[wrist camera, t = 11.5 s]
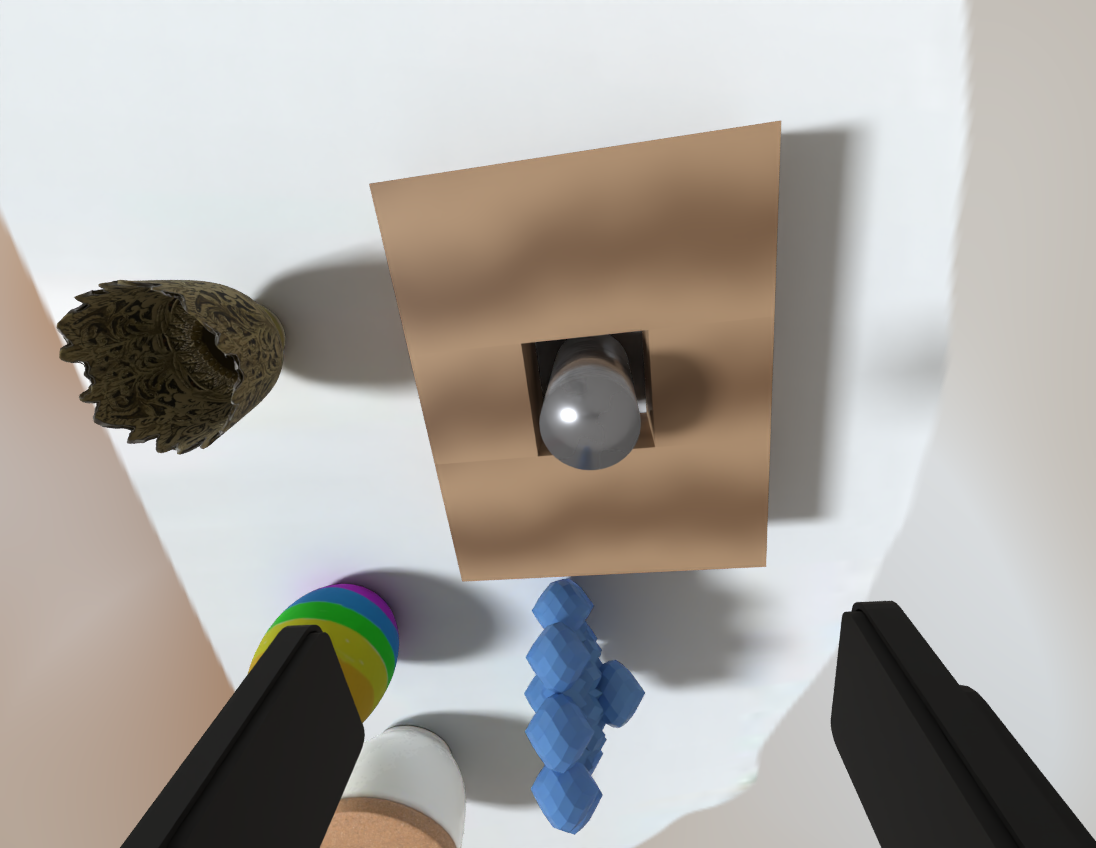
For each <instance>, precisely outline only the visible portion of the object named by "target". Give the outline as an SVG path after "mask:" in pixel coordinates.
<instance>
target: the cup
mask: <svg viewBox="0 0 1096 848" xmlns="http://www.w3.org/2000/svg"><path fill="white" fill-rule="evenodd" d="M98 286H99V287H101V288H103V289H102V290H96V291H93V290H92V291H89V292H87V293H84V294H81V295H78V296H76V297H74V298H75V299H76V300H77V301H79V302H82V303H83V304H82V305H81V306H79V307H77V308H75V309H72V310H70V311H69V312H68V313H67V314H66V315H65V316H64V317H63V318H62V319H61V320H60V321H59V322H58V323H57V330H58V331H59V332H60V333H61V334H62V335H63V337H64V339H65V340H66V342H67V345H65V346H63V347H62V348H61V349H60V359H61V360H63V361H65V362H70V363H81V362H83V363H84V364H85V365H84V364H83V363H81V364H83V365H84V367H85V372H84V376H85V377H86V378H88V379H89V380H91V382H90V383H91V385H90V386H89V387H88V388H89V389H88V390H87V391H85V392H83V393H82V394H80V396H79V398H80V400H81V401H82V402H85V403H97V406H96V408H95V413H94V416H93V419H94V422H95V423H96V424H98V425H100V426H102V427H107V428H115V429H120V428H124V429H128V430H131V433H129V437H128V441H127V443H129V444H132V443H133V444H135V443H144V442H146V441H148V440H151V439H155V438H157V440H156V451H157V452H158V453H164V452H167V451H170V450H172V449H173V450H177V454H184V453H187V452H189V451H191V450H193V449H195V448H197V447H199V446H200V445H201V446H200V448H201V449H204V448H206V447H208V446H210V445H211V444H212V443H213V442H214V441H215V440H216V439H218V438H219V437H220V436H221V435H223V434H224V433H225V432H226V431H227V430H228V429H230V428H231V427H232V426H233V425H234V424H236V423H237V422H238V421H239V420H240V419H242V418H243V417H244V416H245V415H246V414H248V413H249V412H250V411H251V410H252V409H253V408H255V407H256V406H257V405H258V404H259V403H260V402H261V401H262V400H263V399H264V398H265V397H266V396H267V394H268V393H269V392H270V391H271V389H272V388H273V387H274V385H275V384H276V382H277V380H278V378H279V375H280V372H281V369H282V364H283V350H284V347H285V341H286V338H285V332H284V328H283V326H282V324H281V322H280V320H279V319H278V318H277V316H276V315H275V314H274V313H273V312H272V311H270V310H269V309H268V308H266V307H264V306H262V305H260V304H257V303H256V302H255V301H254V300H252V299H251V298H250V297H248V296H247V295H245V294H243V293H241V292H239V291H237V290H235V289H233V288H230V287H228V286H225V285H221V284H217V283H211V282H205V281H193V280H148V281H127V280H117V281H113V282H108V283H101V284H99V285H98ZM78 361H80V362H78Z"/></svg>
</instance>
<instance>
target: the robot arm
mask: <svg viewBox="0 0 1096 848" xmlns="http://www.w3.org/2000/svg"><path fill="white" fill-rule="evenodd" d="M831 714H832V715H831V730H832V734H833V738H834V741H835V744H836V747H837V749H838V751H839V754H840V756H841V758H842V760H843V763H844V765H845V767H846V769H847V771H848V774H849V776H850V778H851V780H852V783H853V785H854V787H855V789H856V791H857V794H858V796H859V798H860V801H861V803H862V805H863V807H864V810H865V812H866V814H867V816H868V819H869V821H870V823H871V825H872V828H873V830H874V832H875V834H876V836H877V839H878V841H879V843H880V845H881V848H1096V841H1095V840H1094V838H1093V837H1092V836H1091V835H1090V834H1089V832H1088V831H1087V830H1086V828H1085V827H1084V826H1083V824H1082V823H1081V822H1080V821H1079V819H1078V818H1077V817H1076V815H1075V814H1074V813H1073V812H1072V810H1071V809H1070V808H1069V807H1068V805H1067V804H1066V803H1065V801H1063V799H1062V798H1061V796H1060V795H1059V794H1058V793H1057V791H1056V790H1055V789H1054V788H1053V786H1052V785H1051V784H1050V782H1049V781H1048V780H1047V779H1046V777H1045V776H1044V775H1043V774H1042V772H1041V771H1040V770H1039V768H1038V767H1037V766H1036V765H1035V764H1034V762H1033V761H1032V760H1031V758H1030V757H1029V756H1028V754H1027V753H1026V752H1025V751H1024V749H1023V748H1022V747H1021V746H1020V744H1019V743H1018V742H1017V741H1016V739H1015V738H1014V737H1013V735H1012V734H1011V733H1010V732H1009V731H1008V729H1007V728H1006V726H1005V725H1004V724H1003V723H1002V721H1001V720H1000V719H999V718H998V716H997V715H996V714H995V712H994V711H993V710H992V709H991V707H990V706H989V705H988V704H987V702H986V701H985V700H984V699H983V698H982V697H981V696H980V695H979V694H978V693H977V692H976V691H975V690H973V689H972V688H970V687H968V686H963V685H959V684H958V683H957V681H956V680H955V679H954V677H953V676H952V675H951V673H950V672H949V671H948V670H947V668H946V667H945V666H944V664H943V663H942V662H941V660H940V659H939V658H938V656H937V655H936V654H935V652H934V651H933V650H932V648H931V647H930V646H929V644H928V643H927V642H926V640H925V639H924V638H923V637H922V635H921V634H920V633H919V632H918V630H917V629H916V627H915V626H914V625H913V623H912V622H911V621H910V619H909V618H908V617H907V615H906V614H905V613H904V612H903V610H902V609H901V608H900V607H899V605H897V603H895V602H893V601H877V602H876V601H875V602H856V603H854V605H853V607H852V612H844V613H843V615H842V622H841V631H840V640H839V649H838V659H837V667H836V677H835V687H834V695H833V704H832V713H831ZM364 736H365V734H364V727H363V724H362V721H361V719H360V716H359V713H358V711H357V708H356V705H355V703H354V700H353V697H352V695H351V692H350V689H349V687H348V684H347V681H346V679H345V676H344V673H343V671H342V668H341V665H340V663H339V660H338V657H337V655H336V652H335V649H334V647H333V644H332V641H331V639H330V636H329V635H328V634H327V633H326V632H323V631H322V629H321V628H320V627H319V626H318V625H292V626H286V627H284V628H283V629H282V630H281V631H280V632H279V633H278V634H277V636H276V637H275V638H274V640H273V641H272V642H271V644H270V645H269V646H268V648H267V649H266V651H265V652H264V653H263V655H262V656H261V657H260V659H259V660H258V661H257V663H256V664H255V665H254V667H253V668H252V670H251V671H250V672H249V674H248V675H247V676H246V678H245V679H244V680H243V682H242V683H241V684H240V686H239V687H238V688H237V690H236V691H235V693H234V694H233V696H232V697H231V698H230V699H229V701H228V702H227V704H226V705H225V706H224V707H223V709H222V710H221V712H220V713H219V714H218V716H217V717H216V719H215V720H214V721H213V722H212V724H211V725H210V727H209V728H208V729H207V731H206V732H205V733H204V735H203V736H202V737H201V739H200V740H199V741H198V743H197V744H196V745H195V747H194V748H193V750H192V751H191V752H190V754H189V755H188V756H187V758H186V759H185V760H184V762H183V763H182V764H181V766H180V767H179V769H178V770H177V771H176V773H175V774H174V775H173V777H172V778H171V779H170V781H169V782H168V783H167V785H166V786H165V787H164V789H163V790H162V792H161V793H160V794H159V796H158V797H157V798H156V800H155V801H154V802H153V804H152V805H151V806H150V808H149V809H148V811H147V812H146V813H145V815H144V816H143V817H142V819H141V820H140V821H139V823H138V824H137V825H136V827H135V828H134V830H133V831H132V832H131V834H130V835H129V836H128V838H127V839H126V840H125V842H124V843H123V844H122V846H121V847H120V848H320V846H321V844H322V842H323V839H324V837H325V835H326V832H327V830H328V828H329V825H330V823H331V821H332V818H333V816H334V814H335V811H336V809H337V807H338V804H339V802H340V799H341V797H342V795H343V792H344V790H345V788H346V785H347V783H348V781H349V778H350V776H351V774H352V771H353V769H354V767H355V764H356V762H357V760H358V757H359V755H360V753H361V750H362V747H363V743H364Z"/></svg>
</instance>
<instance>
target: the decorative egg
mask: <svg viewBox="0 0 1096 848" xmlns="http://www.w3.org/2000/svg"><path fill="white" fill-rule="evenodd" d="M292 625H318V626H319V627H320V628H321V629H322V631H323V632H326V633H327V634H328V635H329V636H330V639H331V641H332V644H333V647H334V649H335V652H336V655H337V657H338V660H339V663H340V665H341V668H342V671H343V673H344V676H345V679H346V681H347V684H348V687H349V689H350V692H351V695H352V697H353V700H354V703H355V705H356V708H357V711H358V713H359V716H360V719H361V721H362V723H363V722H364V721H365V720H366V719H367V718H368V717H369V715H370V714H371V713H372V712H373V710H374V709H375V707H376V706H377V705H378V703H379V702H380V700H381V698H382V697H383V695H384V693H385V691H386V690H387V688H388V685H389V683H390V681H391V679H392V676H393V673H394V670H395V667H396V663H397V658H398V650H399V635H398V628H397V624H396V620H395V618H394V615H393V613H392V611H391V609H390V607H389V606H388V605H387V603H386V602H385V601H384V600H383V599H382V598H381V597H380V596H379V595H377V594H376V593H374V592H373V591H371V590H369V589H367V588H365V587H362V586H358V585H353V584H336V585H329V586H326V587H323V588H319V589H317V590H314V591H312V592H310V593H308V594H306V595H304V596H303V597H301V598H300V599H298V600H297V601H295V602H294V603H293V604H292V605H290V606H289V607H288V608H287V609H286V610H285V611H284V612H283V613H282V614H281V615H280V616H279V617H278V618H277V619H276V620H275V622H274V623H273V624H272V626H271V627H270V628H269V629H268V631H267V633H266V634H265V636H264V637H263V639H262V641H261V643H260V645H259V647H258V649H257V651H256V653H255V655H254V657H253V659H252V662H251V665H250V669H249V672H250V671H251V670H252V668H253V667H254V665H255V664H256V663H257V661H258V660H259V659H260V657H261V656H262V655H263V653H264V652H265V651H266V649H267V648H268V646H269V645H270V644H271V642H272V641H273V640H274V638H275V637H276V636H277V634H278V633H279V632H280V631H281V630H282V629H283V628H284V627H286V626H292ZM249 672H248V674H249Z"/></svg>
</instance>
